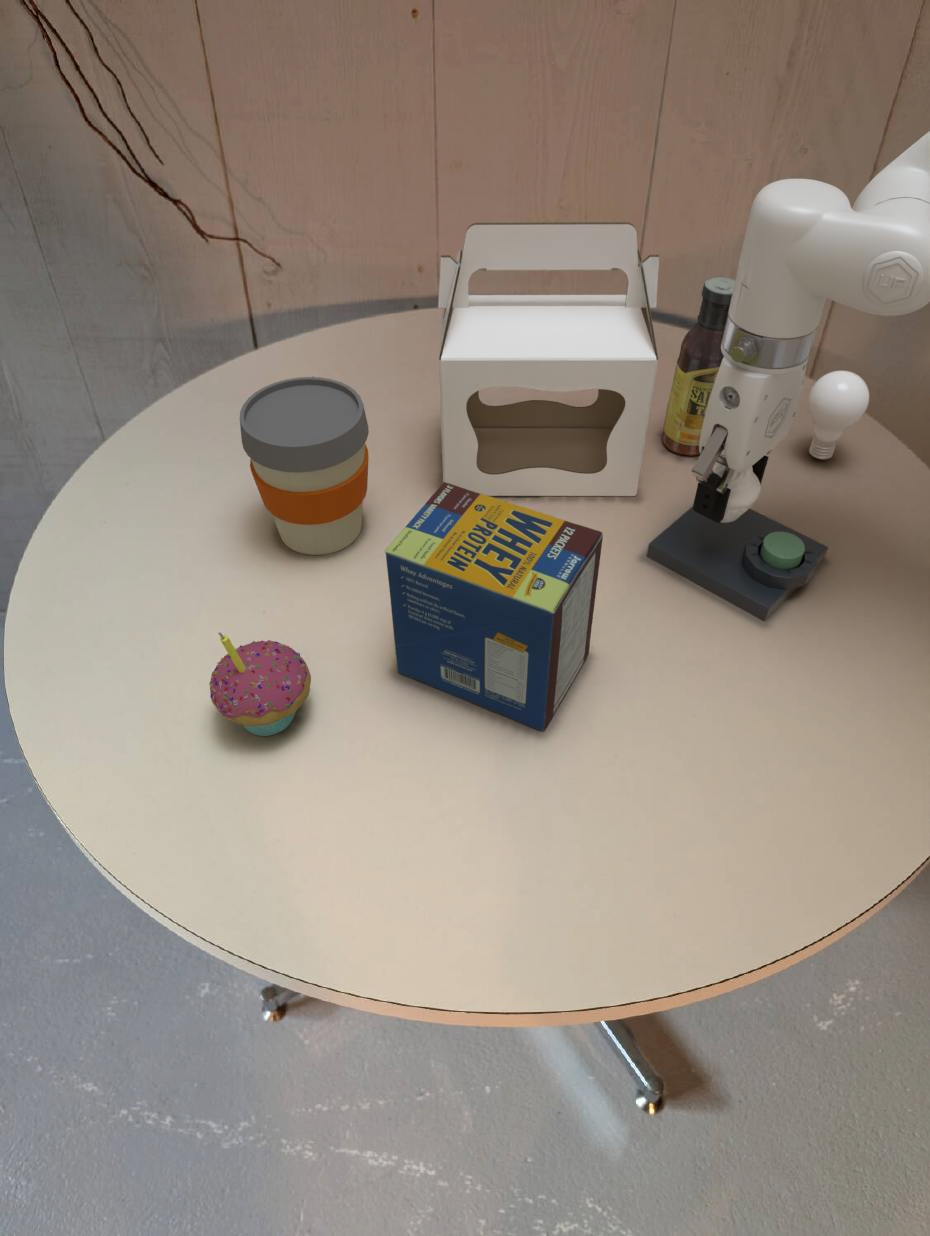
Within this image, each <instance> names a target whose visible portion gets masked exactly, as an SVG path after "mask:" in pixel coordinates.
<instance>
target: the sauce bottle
mask: <svg viewBox="0 0 930 1236" xmlns="http://www.w3.org/2000/svg"><path fill="white" fill-rule="evenodd" d="M734 284H735V279H733V278H729V277H726V276H725V277H724V276H714V277H711V278H710V277H709V278H708V279H706V280H705V281H704V283H703V286H702V291H701V297H702V300H701V305H700V309H699V312H698V315H697V320H696V323H695V324H694V325H693V326H692V327H691V328H690V329H689V330H688V332H687V333H686V334H685V335H684V337H683V339H682V342H681V344H680V350H679V355H678V358H677V360H676V363H675V364H676V365H675V369H674V374H673V379H672V384H671V388H670V393H669V398H668V403H667V407H666V412H665V416H664V422H663V426H662V427H663V431H662V436H661V439H662V443H663V444H664V446H665V447H666V448H667V449H668V450H670V451H671V452H672V453H674V454H679V455H683V456H689V457H691V456H700V455H701V454H700V451H699V442H700V435H701V430H702V426H703V421H704V417H705V413H706V410H707V406H708V403H709V399H710V396H711V392H712V389H713V386H714V383H715V380H716V377H717V374H718V371H719V368H720V365H721V362H722V359H723V358H724V355H723V353H722V351H721V343H722V339H723V334H724V329H725V325H726V320H727V316H728V311H729V307H730V302H731V297H732V293H733V289H734Z"/></svg>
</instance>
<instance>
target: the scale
mask: <svg viewBox="0 0 930 1236" xmlns="http://www.w3.org/2000/svg"><path fill="white" fill-rule="evenodd" d="M773 532H787V533H790V534H793V535H795V536H797V537H798V538H799V539H801V541H802V542H803V543H804V546H805V551H804V554H803V557H802V560H801V562H800V564H799V565H798V566H797V567H795V568H792V569H786V570H785V569H778V568H774V567H772V566H770V565H768V564H766V563H765V562H764V561H763V559H762V558H761V555H760V550H761V547H762V544H763V540H764V538H765V537H766V536H767V535H768V534H770V533H773ZM647 547H648V548H647V553H646V557H647V558H648V559H650V560H652V561H654V562H656V563H658V564H660V565H662V566H663V567H665V568H667V569H668V570H670V571H672V572H674V573H676V574H678V575H679V576H681V577H683V578H685V579H687V580H688V581H690V582H692V583H694V584H696V585H698V586H699V587H701V588H703V589H705V590H706V591H708V592H710V593H712V594H713V595H716V596H717V597H719V598H721V599H723V600H725V601H727V602H728V603H730V604H732V605H734V606H736V607H738V608H739V609H741V610H743V611H744V612H747V613H748V614H750V615H752V616H753V617H755V618H757V619H759V620H761V621H763V622H766V621H767V620H768V619H769V618H770V617H771V616H772V615H773V614H774V613H775V612H776V610H778V609H779V607H781V605H782V604H783V603H784V602H785V601H786V600H787V599H788V598H789V597H790V596H791V595H792V594H793V593H794V592H795V591H796V590H797V588H801V587H804V586H805V585H807V583H808V582H809V581H810V580H811V579H812V578H813V577H814V575H815V572H816V569H817V568H818V567H819V566H820V565H821V564H822V563H823V561H824V560H825V557H826V555H827V553H828V550H829V546H827V545H826V544H823V543H821V542H820V541H817V540H815V539H813V538H811V537H808V536H806V535H805V534H802V533H801V532H799V531H796V530H795V529H792V528H790V527H788V526H787V525H784V524H782V523H780V522H779V521H776V520H775V519H772V518H770V517H768V516H766V515H764V514H762V513H760V512H758V511H755V510H754V509H751V508H749V509H748V510H747V511H746V512H745V513H743V514H742V515H741V516H740V517H739V518H737V519H736V520H735V521H733V522H729V523H728V522H727V523H722V522H720V523H716V522H714V521H712V520H711V519H709V518H707V517H705V516H703V515H701V514H699V513H697V512H695V511H694V510H693V506H691V507H690V508H689V509H688V510H687V511H685V513H683V514H682V515H681V516H680V517H678V518H677V519H676V520H674V522H672V523H671V524H670V525H669V526H668V527H667V528H665V529H664V530H663V531H662V532H661V533H660V534H658V535H657V536H656V537H655V538H653V539H652V540H651V541H650V542H649V543H648V546H647Z"/></svg>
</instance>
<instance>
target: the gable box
mask: <svg viewBox="0 0 930 1236" xmlns="http://www.w3.org/2000/svg"><path fill="white" fill-rule="evenodd" d="M462 247H463V249H459V250H458V252H457V255H456V258H455V259H454V258H453V257H452V256H451V255H447V254H441V255H440V267H439V287H438V300H437V301H438V303H437V308H438V309H442V310H441V323H440V324H441V325H440V336H439V350H438V351H439V352H438V353H439V354H438V375H439V377H438V378H439V402H440V403H439V405H440V429H441V430H440V431H441V456H442V457H441V458H442V484H443V483H444V482H446V483H449V484H452V485H455V486H458V487H461V488H464V489H467V490H470V491H473V492H476V493H480V494H484V495H487V496H490V497H635V496H637V495H638V489H639V483H640V476H641V471H642V470H641V469H642V463H643V457H644V453H645V445H646V438H647V434H648V433H647V432H648V427H649V421H650V413H651V407H652V402H653V395H654V388H655V382H656V376H657V371H658V364H659V355H658V348H657V343H656V336H655V331H654V330H655V329H654V324H653V318H652V313H651V308H652V309H655V308H657V301H658V300H657V298H658V284H659V283H658V281H659V266H660V255H659V254H649V255H647V256H646V257H645V258H644V259H643V260H642V255H641V251H640V249H638V235H637V229H636V227H635V226H634V224H632V223H631V222H628V221H620V222H619V221H611V222H609V221H608V222H607V221H605V222H604V221H603V222H602V221H601V222H599V221H598V222H596V221H593V222H592V221H588V222H585V221H583V222H574V221H573V222H572V221H571V222H569V221H567V222H565V221H564V222H562V221H561V222H559V221H558V222H555V221H553V222H473V223H471V224H470V225H469V226H468V227H467V228H466V231H465V235H464V242H463V246H462ZM620 270H621V271H622V272H624V274H625V275H626V278H627V284H626V285H627V287H626V294H469V281H470V278H471V276H472V275H473V274H474V273H475V272H476V271H481V272H487V271H611V272H617V271H620ZM502 387H514V388H523V389H528V390H529V389H530V390H537V391H543V392H552V393H553V392H554V393H568V392H578V391H586V390H598V391H597V397H596V400H595V401H594V402H593V403H591V404H589V405H586V406H573V405H570V404H566V403H562V402H559V401H554V400H547V399H546V400H545V399H530V400H524V401H519V402H518V401H517V402H513V403H509V404H502V405H489V404H485V403H483V402H482V401H481V398H480V395H479V394H480V393H479V392H480V391H481V390H484V389H488V388H502Z"/></svg>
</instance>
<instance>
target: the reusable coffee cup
mask: <svg viewBox="0 0 930 1236" xmlns="http://www.w3.org/2000/svg"><path fill="white" fill-rule="evenodd" d="M239 425H240V426H239V428H240V437H241V438H240V439H241V445H242V448H243V451H244V452H245V453H246V456H247V457H249V458H250V460H249V468H250V472H251V475H252V478H253V481H254V482H255V485H256V487H257V490H258V492H259V495H260V498H261V501H262V503H263V505H264V508H265V509H266V510H267V512H268V513H270V514H271V515H272V518H273V520H274V523H275V526H276V529H277V531H278V534H279V536H280V539H281V540H282V542H283V544H284V545H285V546H287V548H289V549H291V550H292V551H294V552H297V553H300V554H303V555H309V556H310V555H311V556H321V555H329V554H333V553H335V552H338V551H341V550H344V549H345V548H347V547H348V546H350V545H352V544H353V543H354V542H355V541H356V539H358V537H359V535H360V533H361V531H362V528H363V527H362V525H363V506H364V505H363V504H364V503H363V502H364V500H365V498H366V496H367V492H368V479H369V478H368V477H369V459H370V458H369V448H368V447H367V444H366V442H367V440H368V436H369V434H370V433H369V423H368V419H367V415H366V411H365V405H364V402H363V400H362V397H361V395H360V394H359V393H358V392H357V391H356V390H355V389H354V388H352V387H351V386H349V385H348V384H346V383H344V382H341V381H339V380H336V379H332V378H328V377H327V378H326V377H321V376H320V377H319V376H318V377H317V376H302V377H293V378H286V379H283V380H279V381H276V382H273V383H270V384H268V385H266V386H264V387H261V388H260V389H258V390H257V391H255V392H254V393H252V394H251V395H250V396H249V397H248V398H247V399H246V401H245V402H244V403H243V404H242V407H241V409H240V411H239Z"/></svg>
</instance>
